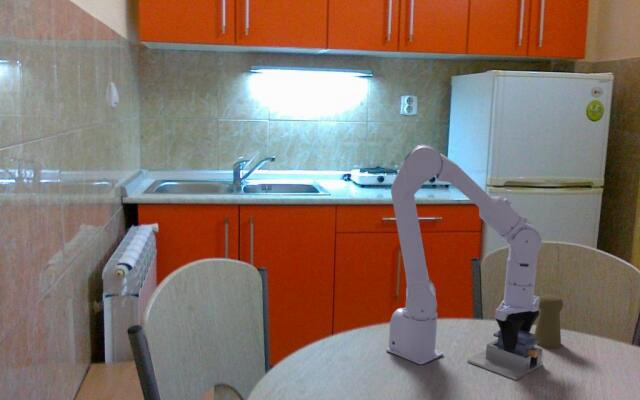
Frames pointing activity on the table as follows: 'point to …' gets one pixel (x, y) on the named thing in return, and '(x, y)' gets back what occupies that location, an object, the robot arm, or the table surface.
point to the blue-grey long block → (521, 343)
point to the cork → (549, 321)
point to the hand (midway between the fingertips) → (514, 345)
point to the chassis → (506, 361)
